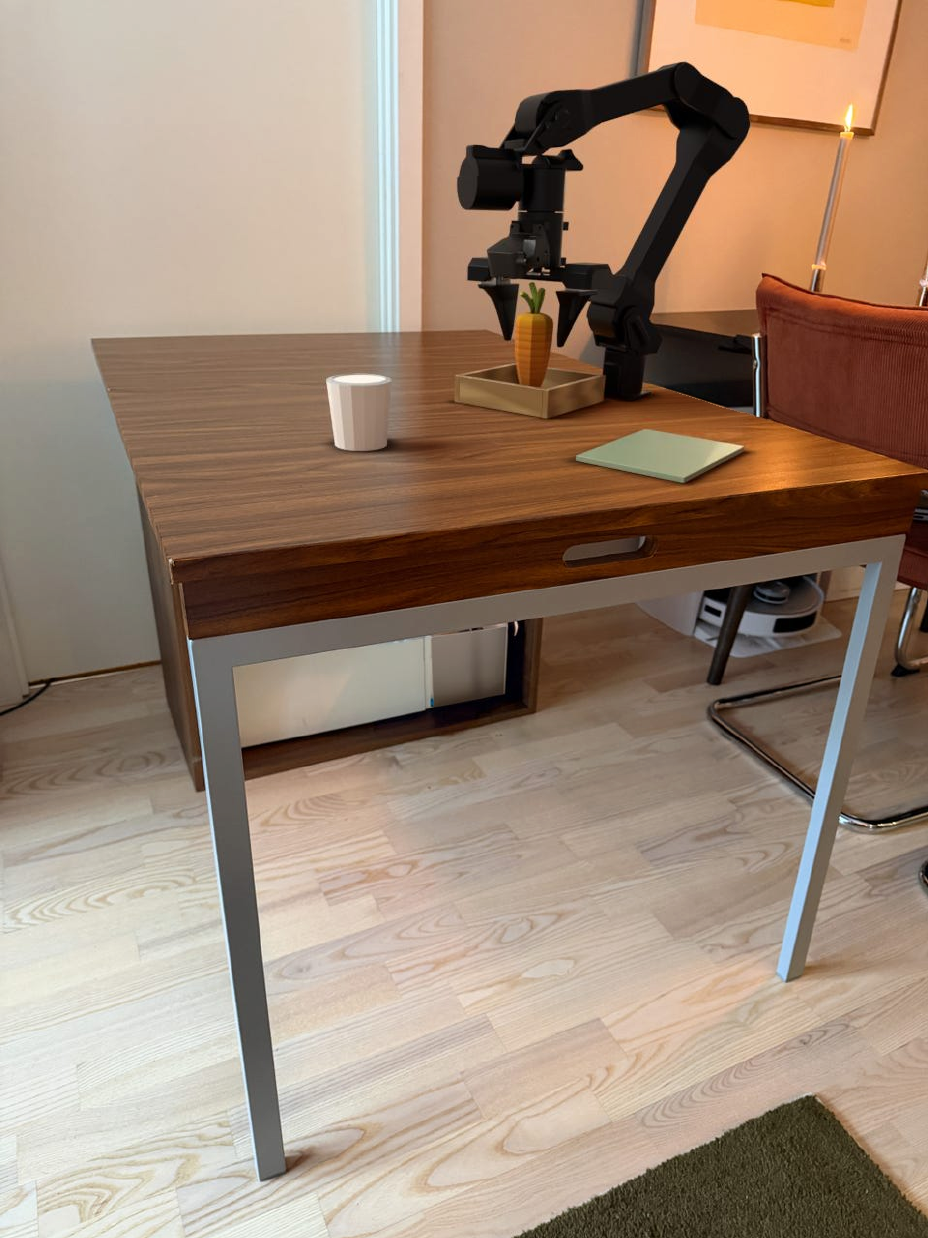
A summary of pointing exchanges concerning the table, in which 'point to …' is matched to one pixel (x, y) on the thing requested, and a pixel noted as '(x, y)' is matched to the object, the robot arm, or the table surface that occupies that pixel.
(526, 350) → the carrot
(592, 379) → the wooden tray
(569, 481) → the table surface
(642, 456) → the board
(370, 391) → the white cup
